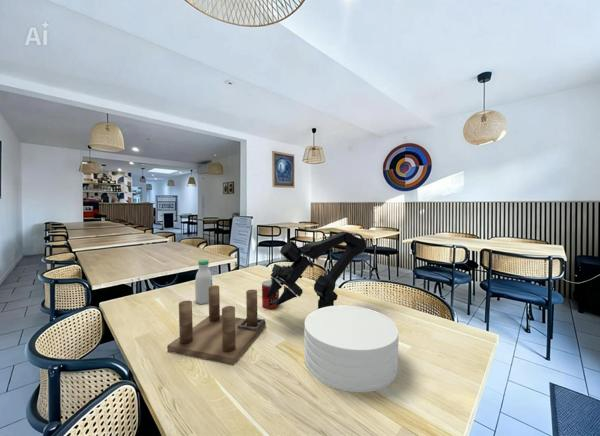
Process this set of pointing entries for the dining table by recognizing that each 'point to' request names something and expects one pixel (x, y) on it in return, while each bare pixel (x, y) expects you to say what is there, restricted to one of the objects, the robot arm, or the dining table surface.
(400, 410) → the dining table surface
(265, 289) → the canned food
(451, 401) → the dining table surface
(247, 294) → the stool leg
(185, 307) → the peg board
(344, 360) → the plate stack
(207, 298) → the milk bottle
